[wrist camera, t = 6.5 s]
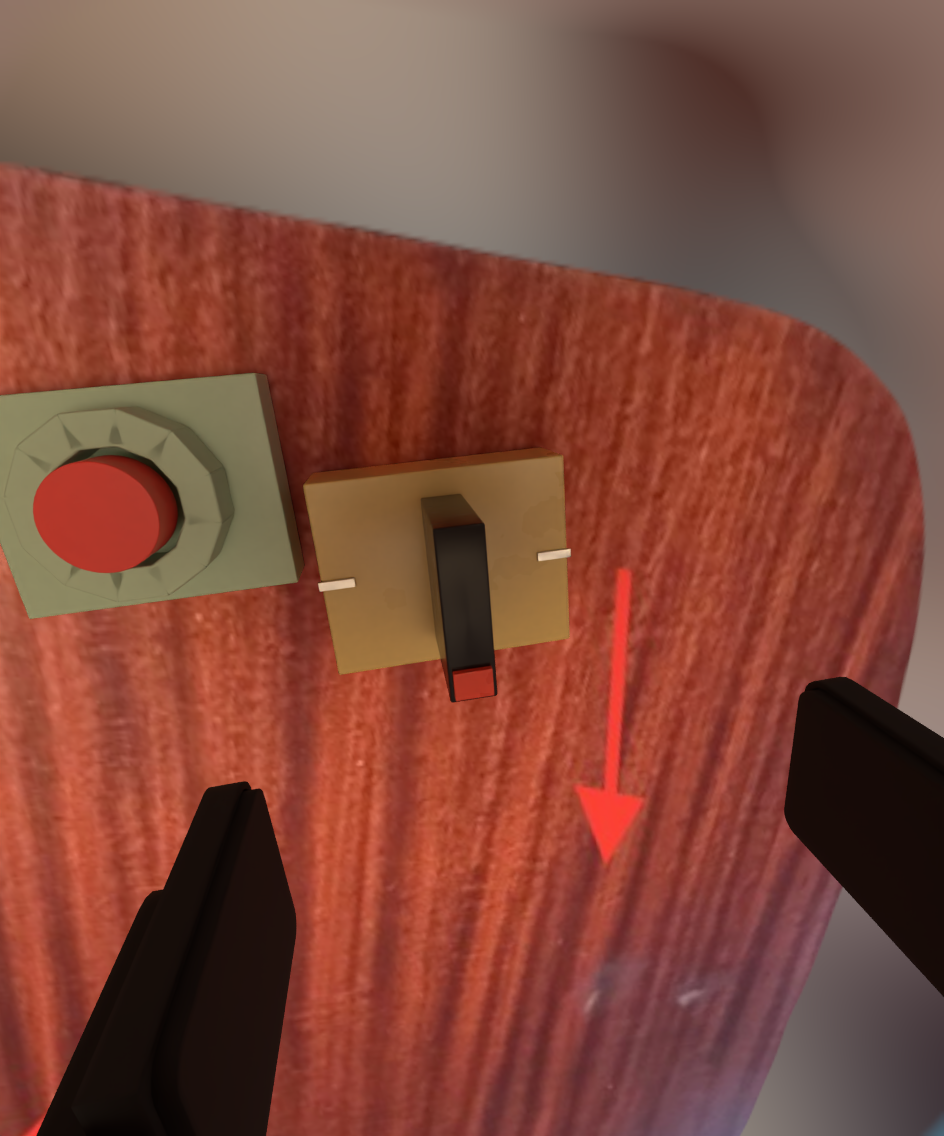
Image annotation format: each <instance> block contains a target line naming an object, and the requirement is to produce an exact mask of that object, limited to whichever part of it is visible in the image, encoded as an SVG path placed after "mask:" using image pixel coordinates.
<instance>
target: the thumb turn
mask: <svg viewBox="0 0 944 1136" xmlns="http://www.w3.org/2000/svg"><path fill="white" fill-rule="evenodd" d="M421 509H422V518H423V527H424V536H425V545H426V555H427V564H428V573H429V582H430V591H431V600H432V609H433V618H434V627H435V636H436V641H437V645H438V650H439V654H440V658H441V663H442V667H443V671H444V675H445V680H446V684H447V688H448V692H449V697H450V701H451V702H459V701H465V700H471V699H477V698H484V697H490V696H496V695H497V681H496V667H495V654H494V640H493V626H492V613H491V599H490V586H489V572H488V558H487V545H486V531H485V524H484V522H483V521H482V520H481V519H480V517H479V516H478V515H477V514H476V512H475V511H474V510H473V508H472V507H471V506H470V505H469V503H468V502H467V501H466V500H465V498H464V497H463V496H462V495H461V494H452V495H443V496H434V497H425V498H421Z"/></svg>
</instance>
